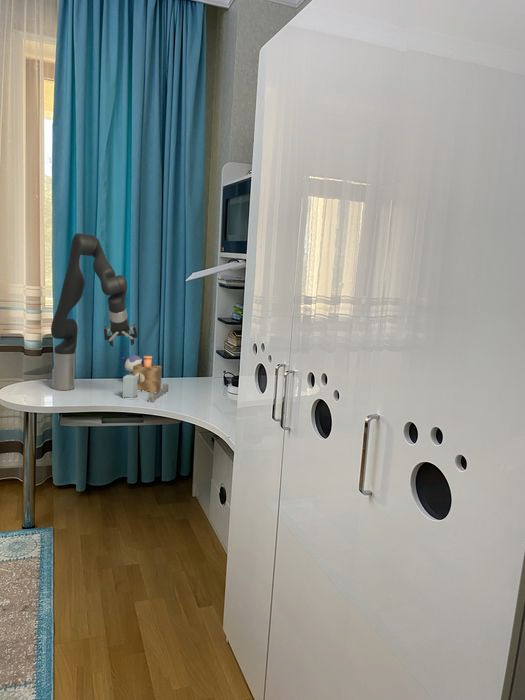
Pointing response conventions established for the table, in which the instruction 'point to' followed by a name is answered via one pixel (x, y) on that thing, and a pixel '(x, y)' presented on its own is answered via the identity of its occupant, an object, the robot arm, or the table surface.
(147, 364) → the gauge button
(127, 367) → the toy
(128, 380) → the pale grey rectangular block
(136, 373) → the end cabinet
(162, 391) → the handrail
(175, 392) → the table surface
